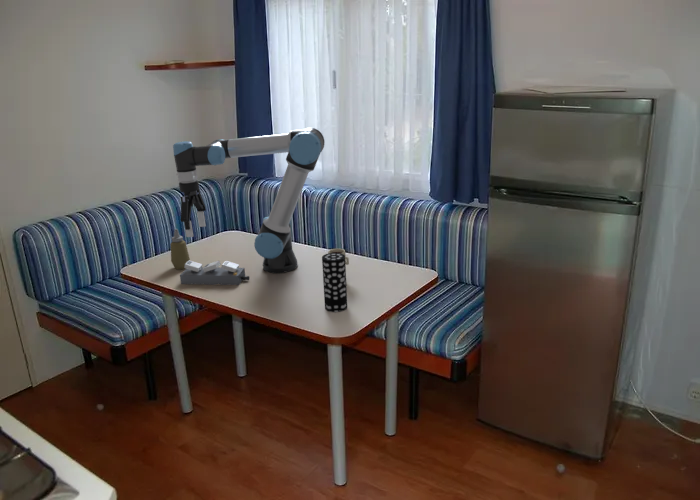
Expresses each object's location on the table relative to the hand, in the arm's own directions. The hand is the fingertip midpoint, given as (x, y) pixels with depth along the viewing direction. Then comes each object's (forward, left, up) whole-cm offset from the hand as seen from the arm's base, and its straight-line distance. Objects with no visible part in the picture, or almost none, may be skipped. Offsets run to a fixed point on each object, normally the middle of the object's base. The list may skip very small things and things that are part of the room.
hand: (196, 231), depth 241 cm
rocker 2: (-5, +1, -15) cm, 16 cm away
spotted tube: (-61, +25, -21) cm, 69 cm away
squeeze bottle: (+15, -13, -21) cm, 29 cm away
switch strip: (-7, +1, -21) cm, 22 cm away
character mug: (-58, 0, -21) cm, 62 cm away
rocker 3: (-13, +1, -15) cm, 20 cm away
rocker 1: (+3, +1, -15) cm, 15 cm away
